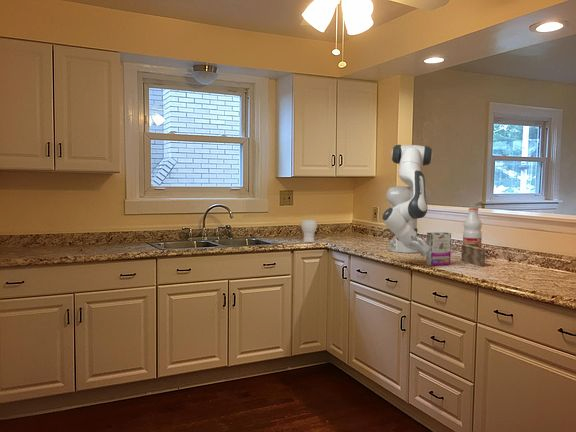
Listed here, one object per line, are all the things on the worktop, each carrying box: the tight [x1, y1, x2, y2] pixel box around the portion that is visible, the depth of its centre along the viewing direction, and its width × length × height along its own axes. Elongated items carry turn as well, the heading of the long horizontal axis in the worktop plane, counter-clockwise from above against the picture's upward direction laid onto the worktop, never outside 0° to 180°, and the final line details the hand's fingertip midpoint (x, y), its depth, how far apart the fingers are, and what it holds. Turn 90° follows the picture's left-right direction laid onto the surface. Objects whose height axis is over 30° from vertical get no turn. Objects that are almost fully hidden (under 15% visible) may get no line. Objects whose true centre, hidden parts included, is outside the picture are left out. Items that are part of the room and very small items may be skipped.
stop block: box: [460, 243, 486, 268], centre depth 250 cm, size 18×2×9 cm, turn 13°
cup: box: [300, 219, 318, 243], centre depth 331 cm, size 11×11×15 cm
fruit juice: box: [462, 207, 483, 248], centre depth 264 cm, size 9×9×28 cm
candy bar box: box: [426, 231, 452, 267], centre depth 244 cm, size 11×5×16 cm, turn 106°
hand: (424, 254), depth 243 cm, fingers closed
